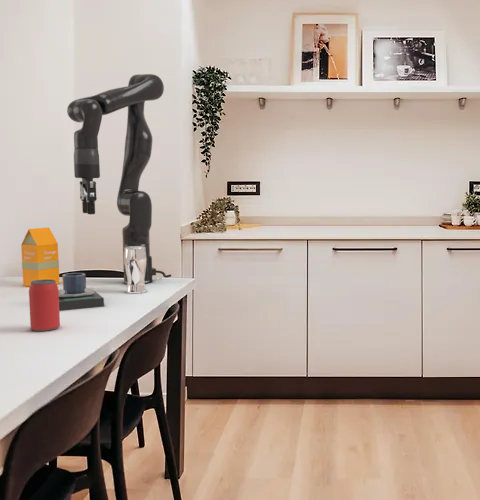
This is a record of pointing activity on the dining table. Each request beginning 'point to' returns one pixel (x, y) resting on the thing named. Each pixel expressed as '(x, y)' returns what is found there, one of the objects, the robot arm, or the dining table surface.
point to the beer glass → (135, 268)
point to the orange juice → (39, 256)
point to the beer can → (44, 305)
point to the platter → (87, 292)
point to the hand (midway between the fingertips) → (88, 213)
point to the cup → (74, 282)
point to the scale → (81, 302)
